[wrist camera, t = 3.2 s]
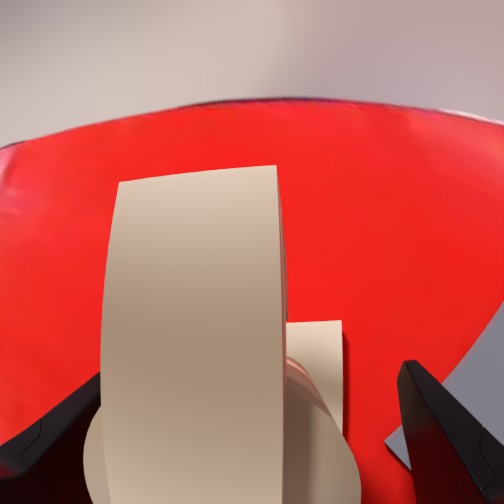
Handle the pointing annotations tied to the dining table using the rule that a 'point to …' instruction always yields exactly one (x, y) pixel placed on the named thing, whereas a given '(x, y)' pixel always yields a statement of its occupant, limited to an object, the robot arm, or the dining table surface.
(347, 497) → the beige stacked pedestal
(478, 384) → the mat
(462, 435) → the robot arm
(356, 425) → the dining table surface
